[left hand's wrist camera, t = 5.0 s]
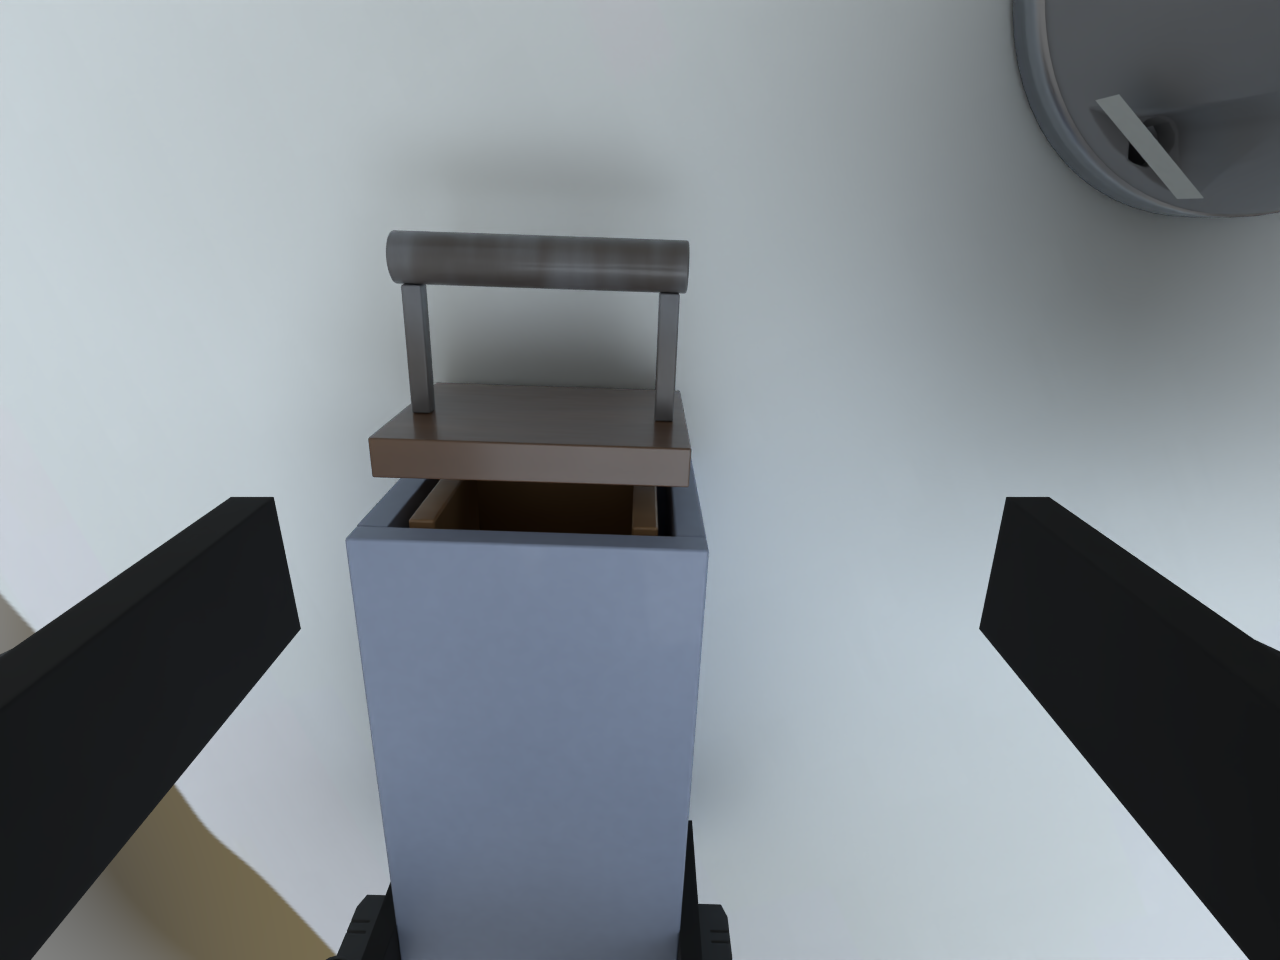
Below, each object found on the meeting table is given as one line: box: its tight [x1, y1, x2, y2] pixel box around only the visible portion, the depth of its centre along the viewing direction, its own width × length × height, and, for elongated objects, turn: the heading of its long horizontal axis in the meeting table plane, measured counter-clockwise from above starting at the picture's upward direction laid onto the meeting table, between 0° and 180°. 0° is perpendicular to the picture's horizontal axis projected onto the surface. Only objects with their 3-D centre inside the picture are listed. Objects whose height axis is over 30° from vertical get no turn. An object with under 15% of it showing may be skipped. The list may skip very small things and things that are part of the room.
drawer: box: [368, 230, 691, 536], centre depth 25 cm, size 26×9×7 cm, turn 178°
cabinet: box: [346, 461, 709, 960], centre depth 28 cm, size 21×10×9 cm, turn 178°
